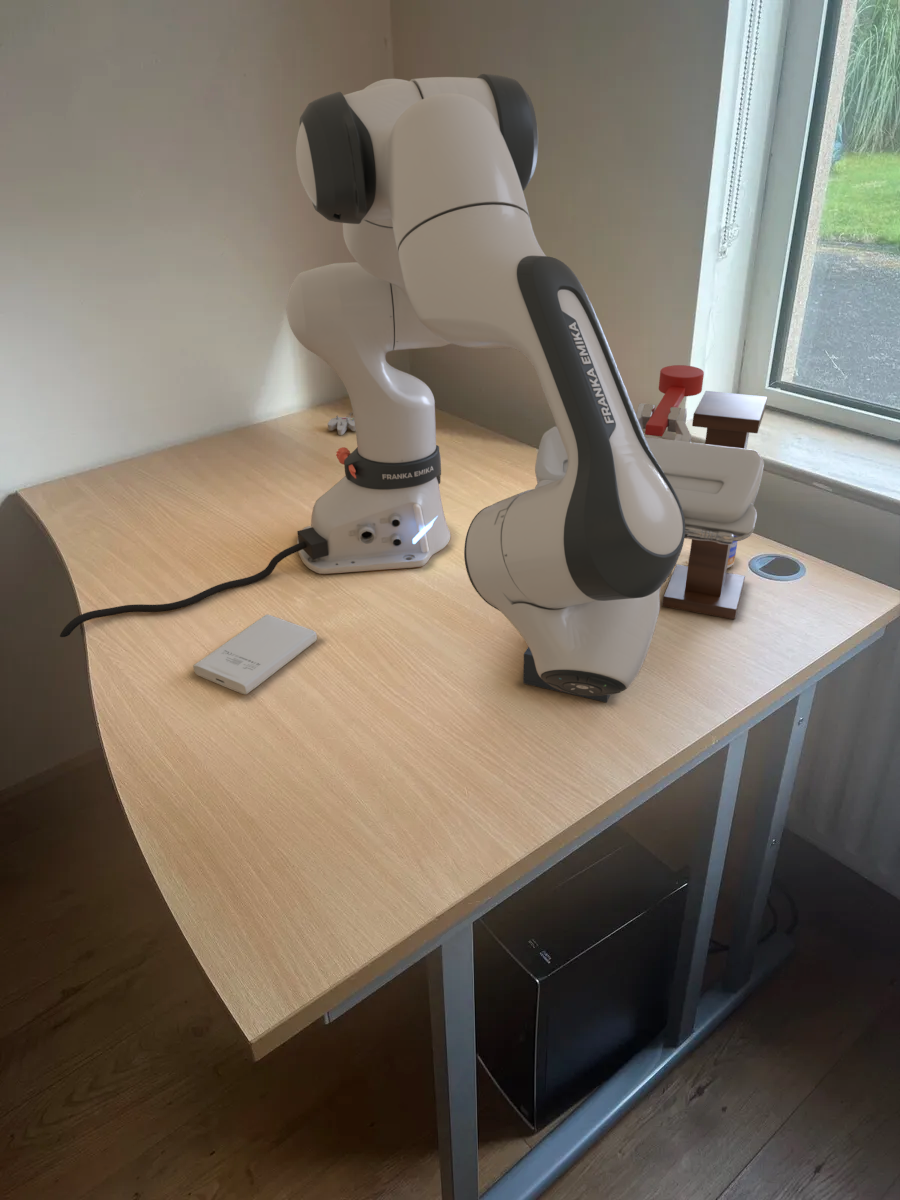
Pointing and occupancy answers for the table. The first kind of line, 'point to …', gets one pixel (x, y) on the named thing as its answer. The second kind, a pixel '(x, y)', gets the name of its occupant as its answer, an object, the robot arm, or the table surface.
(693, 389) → the red lever with knob
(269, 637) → the hard drive
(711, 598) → the stand
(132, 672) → the table surface
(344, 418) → the game controller
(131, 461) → the table surface
